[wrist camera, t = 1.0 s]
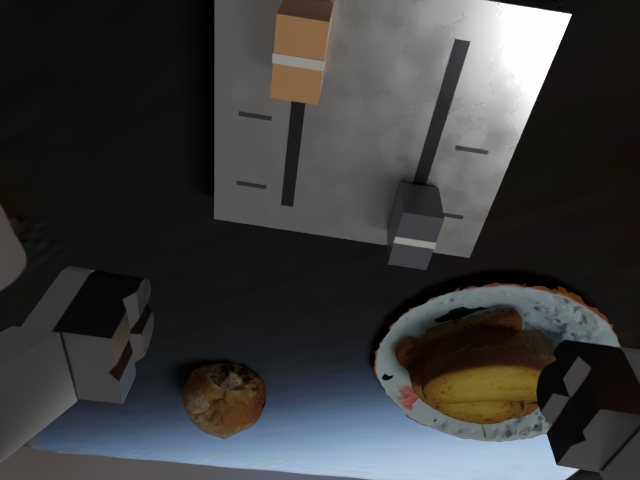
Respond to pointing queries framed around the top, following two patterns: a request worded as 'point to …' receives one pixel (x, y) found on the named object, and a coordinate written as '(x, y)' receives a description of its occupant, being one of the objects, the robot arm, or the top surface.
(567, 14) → the mixing panel
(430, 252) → the black fader
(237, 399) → the bread roll
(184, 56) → the top surface
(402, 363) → the food on plate
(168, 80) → the top surface
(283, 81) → the orange fader
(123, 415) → the top surface
